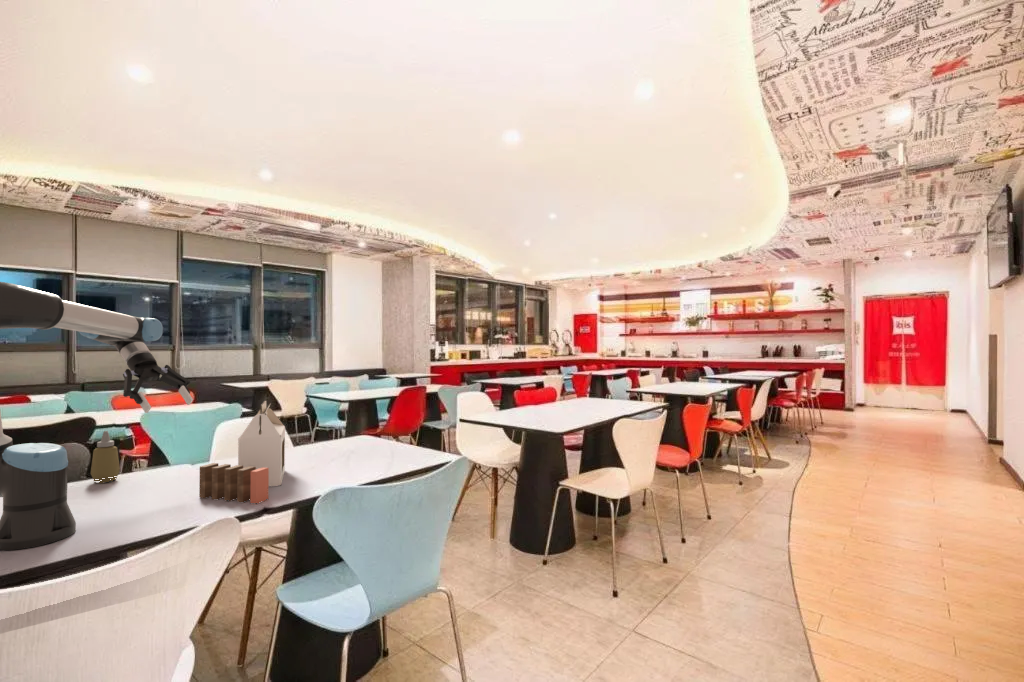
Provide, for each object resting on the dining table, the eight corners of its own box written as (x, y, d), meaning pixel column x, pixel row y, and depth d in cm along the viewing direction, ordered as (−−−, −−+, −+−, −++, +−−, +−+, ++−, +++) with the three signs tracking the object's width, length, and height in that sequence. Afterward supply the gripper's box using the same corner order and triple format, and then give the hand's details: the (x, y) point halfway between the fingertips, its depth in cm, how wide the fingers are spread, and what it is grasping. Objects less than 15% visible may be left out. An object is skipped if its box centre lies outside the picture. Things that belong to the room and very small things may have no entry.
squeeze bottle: (123, 480, 175) (124, 430, 175) (95, 486, 168) (95, 434, 168) (114, 477, 179) (115, 428, 180) (86, 482, 173) (87, 431, 173)
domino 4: (237, 502, 152) (237, 470, 152) (249, 497, 157) (250, 466, 157) (243, 502, 151) (243, 470, 151) (255, 497, 156) (255, 466, 156)
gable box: (281, 486, 170) (281, 405, 170) (237, 490, 165) (238, 407, 165) (284, 470, 190) (285, 398, 190) (246, 473, 185) (247, 400, 185)
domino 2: (211, 499, 155) (212, 467, 155) (224, 494, 159) (225, 464, 160) (217, 499, 154) (217, 468, 154) (230, 495, 159) (230, 464, 159)
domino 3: (224, 500, 153) (224, 468, 153) (237, 495, 158) (237, 465, 158) (230, 501, 153) (230, 469, 153) (242, 496, 158) (243, 465, 158)
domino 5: (250, 503, 151) (250, 471, 151) (262, 498, 155) (262, 467, 156) (256, 504, 150) (256, 471, 150) (268, 499, 155) (268, 467, 155)
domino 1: (199, 497, 156) (199, 466, 156) (212, 493, 161) (213, 463, 161) (204, 498, 155) (205, 467, 156) (218, 493, 160) (218, 463, 160)
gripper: (171, 362, 178) (201, 406, 174) (91, 370, 155) (123, 421, 151) (180, 348, 176) (211, 392, 171) (101, 354, 153) (133, 406, 148)
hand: (170, 406), depth 161 cm, fingers open, 13 cm apart
